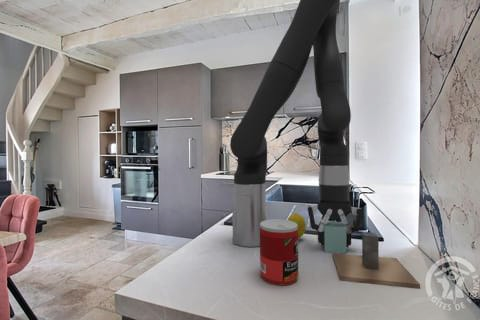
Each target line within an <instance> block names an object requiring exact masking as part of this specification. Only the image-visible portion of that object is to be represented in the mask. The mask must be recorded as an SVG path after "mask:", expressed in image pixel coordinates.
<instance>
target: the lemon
mask: <svg viewBox="0 0 480 320" xmlns="http://www.w3.org/2000/svg"><path fill="white" fill-rule="evenodd" d="M287 220H289V221H292V222H295V223H296V224H297V225H298V239H299V238H301V237H303V236H304V234H305V232H306V227H307V226H306V221H305V219H304V217H303V216H302V215H301V214H300V213H298V212H294V213H293V214H292V213H291V214H290V215H289V217H288V218H287Z"/></svg>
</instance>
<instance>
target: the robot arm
mask: <svg viewBox="0 0 480 320" xmlns="http://www.w3.org/2000/svg"><path fill="white" fill-rule="evenodd" d="M340 1H341V0H299V2H298V4H297V8H296V10H295V13H294V16H293V18H292V20H291V23H290V25H289V27H288V29H287V31H285V34H284V35H283V37H282V40H281V42H280V43H279V46H278V47H277V49H276V51H275V54H273V57H272V59H271V60H270V63H269V65H268V67H267V68H266V71H265V73H264V75H263V77H262V78H261V81H260V83H259V86H258V87H257V90H256V92H255V94H254V96H253V99H252V100H251V103H250V105H249V108H247V110H246V112H245V114H244V116H243V117H242V118H241V120H240V122H239V123H238V125H237V127H236V128H235V130H234V131H233V133H232V135H231V137H230V142H229V145H230V146H229V147H230V148H229V149H230V151H231V153H232V155H233V156H234V157H235V158H237V166H236V169H235V172H234V175H233V193H234V194H233V200H234V202H233V205H234V207H233V208H234V209H233V210H232V214H231V217H232V244H235V245H238V246H241V247H247V248H252V247H260V223H261V222H262V221H265V220H267V197H266V195H267V192H266V191H267V189H266V187H267V186H266V182H267V180H266V178H267V177H266V176H267V172H268V142H267V138H266V136H265V135H266V134H267V131H268V129H269V127H270V125H271V122H272V121H273V119H274V117H275V116H276V114H277V113H278V112H279V111H280V110H281V109H282V107H283V106H284V105H285V103H287V101H288V100H289V98H290V97H291V96H292V94H293V93H294V91H295V89H296V87H297V85H298V84H299V81H300V80H301V78H302V75H303V73H304V71H305V68H306V66H307V64H308V60H309V58H310V55H311V52H312V48H313V67H314V69H313V71H314V80H315V90H316V91H315V92H316V95H317V97H318V99H319V100H320V107H321V113H320V114H319V116H318V119H317V134H318V143H319V171H318V203H317V205H307V213H308V218H309V223H310V227H311V229H312V230H314V231H316V232H317V242H318V244H320V246H321V247H324V232H323V229H324V225H326V224H327V222H342V223H343V225H344V226H345V227H346V249H349V246H351V245H352V234H353V233H355V232H356V233H358V232H359V231H360V229H361V223H362V219H363V213H364V210H363V209H362V208H361V207H359V206H358V207H354V206H352V204H351V202H350V172H349V150H348V146H347V145H346V143H345V140H344V139H345V138H344V137H345V136H344V131H345V130H346V129H347V128H349V126H350V124H351V119H352V116H351V115H352V114H351V111H352V110H351V107H350V103H349V99H348V95H347V93H346V90H345V78H344V77H345V76H344V71H343V70H344V68H343V61H342V58H341V53H340V50H339V46H338V41H337V40H338V39H337V17H338V10H339V7H340V3H341V2H340ZM317 210H318V211H319V212H320V214H321V218H320V221H319V222H318V224H317V223H316V221H315V217H314V215H316V213H317ZM350 212H352V215H353V222H352V225H350V224H349V221H348V220H347V216H348V215H349V213H350Z"/></svg>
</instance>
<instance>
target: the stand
mask: <svg viewBox="0 0 480 320" xmlns="http://www.w3.org/2000/svg"><path fill="white" fill-rule="evenodd" d="M379 251H380V250H379V235H377V233H376V232H365V231H363V232H361V255H359V254H348V253H347V254H342V253H332V259H333V261H334V262H333V263H334V265H335V268H336V271H337V275H338V277H339V281H344V282H345V281H346V282H353V283H364V284H372V285H373V284H375V285H383V286H394V287H402V288H403V287H404V288H411V289H413V288H414V289H421V283H420V282H419V281H418V280H417V279H416V278H415V277H414V276H413V274H412V273H411V272H410V271H409V270H407V268H406V267H405V266H404V264H402V263H401V261H399V260H398V259H397V258H396V257H386V256H385V257H384V256H379V253H380V252H379Z"/></svg>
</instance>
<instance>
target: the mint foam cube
mask: <svg viewBox="0 0 480 320" xmlns="http://www.w3.org/2000/svg"><path fill="white" fill-rule="evenodd" d="M323 232H324V246H323V249H324V253H332V254H333V253H337V254H348V253H347V248H346V227H345V226H344V225H343V223H342V221H341V222H338V221H327V224H326V225H324V229H323Z"/></svg>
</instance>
